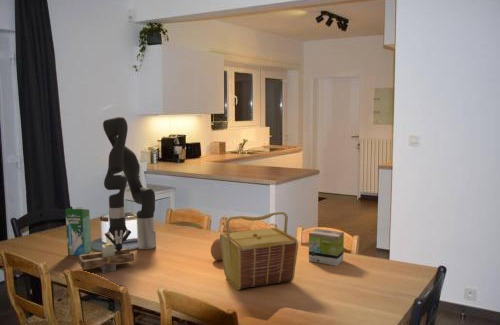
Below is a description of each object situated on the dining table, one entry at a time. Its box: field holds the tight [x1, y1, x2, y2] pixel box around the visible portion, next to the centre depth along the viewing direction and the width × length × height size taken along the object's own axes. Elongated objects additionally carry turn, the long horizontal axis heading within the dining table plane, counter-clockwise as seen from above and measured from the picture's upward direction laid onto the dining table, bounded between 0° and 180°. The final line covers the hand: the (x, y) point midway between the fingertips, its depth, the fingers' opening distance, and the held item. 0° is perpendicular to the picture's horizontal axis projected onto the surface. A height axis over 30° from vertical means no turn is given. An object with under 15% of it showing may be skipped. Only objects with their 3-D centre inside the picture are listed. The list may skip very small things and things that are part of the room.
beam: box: [77, 247, 135, 274], centre depth 234 cm, size 24×14×6 cm, turn 117°
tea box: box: [308, 228, 345, 267], centre depth 239 cm, size 15×10×15 cm, turn 62°
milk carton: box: [64, 206, 92, 256], centre depth 257 cm, size 9×9×25 cm
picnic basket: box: [219, 211, 299, 291], centre depth 213 cm, size 29×26×30 cm
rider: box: [101, 243, 116, 257], centre depth 234 cm, size 5×5×7 cm
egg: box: [210, 238, 223, 262], centre depth 242 cm, size 8×8×11 cm
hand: (118, 250), depth 236 cm, fingers closed
